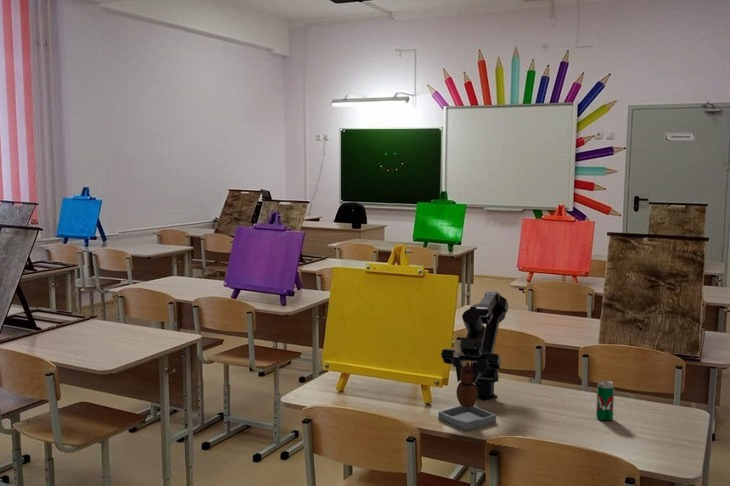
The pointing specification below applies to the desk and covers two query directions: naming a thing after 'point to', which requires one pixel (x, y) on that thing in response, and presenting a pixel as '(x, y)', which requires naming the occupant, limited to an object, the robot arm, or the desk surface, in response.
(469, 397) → the wooden figurine
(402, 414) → the desk surface
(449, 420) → the tray
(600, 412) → the soda can
